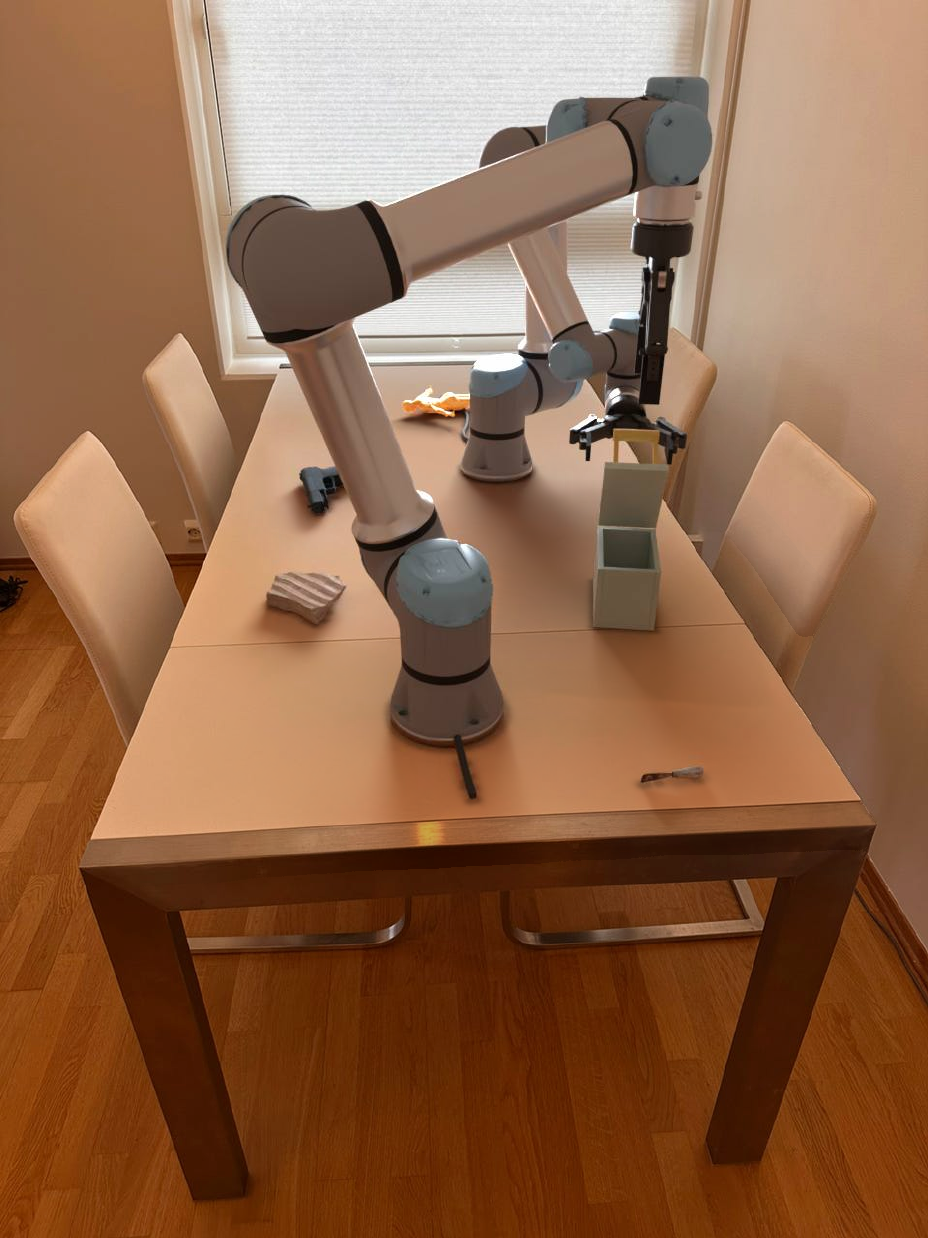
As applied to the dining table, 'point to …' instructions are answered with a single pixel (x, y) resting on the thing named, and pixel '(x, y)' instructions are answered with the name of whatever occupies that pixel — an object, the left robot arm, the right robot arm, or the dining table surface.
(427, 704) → the left robot arm
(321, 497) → the handgun
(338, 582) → the stone
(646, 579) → the chest
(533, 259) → the right robot arm
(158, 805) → the dining table surface
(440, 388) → the dining table surface
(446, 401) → the human figure
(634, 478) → the lid
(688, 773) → the putty knife
